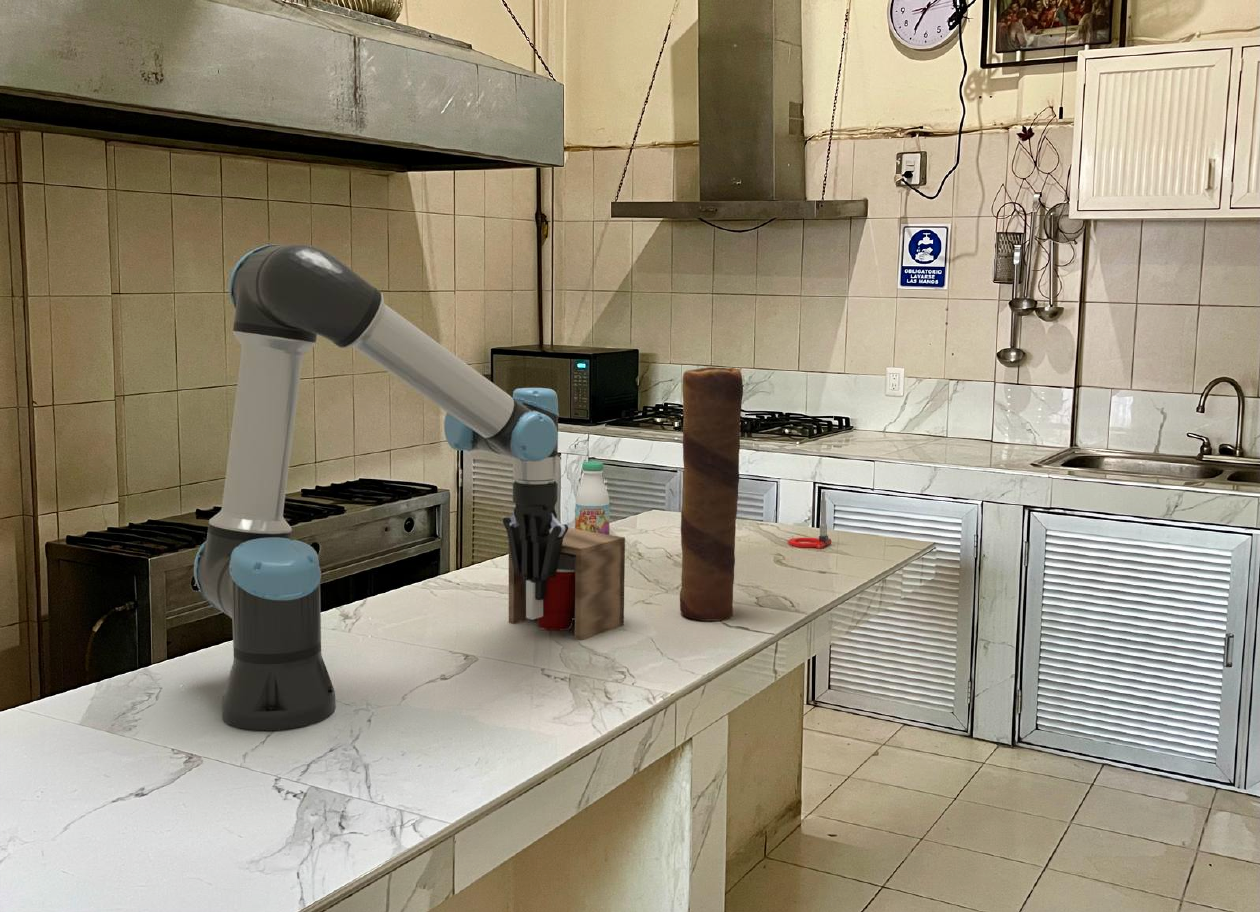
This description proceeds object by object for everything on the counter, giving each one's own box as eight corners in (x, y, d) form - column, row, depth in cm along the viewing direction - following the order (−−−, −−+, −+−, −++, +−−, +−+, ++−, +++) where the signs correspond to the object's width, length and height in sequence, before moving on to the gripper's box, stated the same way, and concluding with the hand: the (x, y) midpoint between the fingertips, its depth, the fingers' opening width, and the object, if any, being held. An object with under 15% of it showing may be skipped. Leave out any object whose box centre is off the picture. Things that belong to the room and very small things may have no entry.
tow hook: (782, 547, 280) (820, 550, 276) (782, 492, 279) (820, 494, 274) (796, 541, 287) (833, 544, 283) (795, 487, 286) (833, 489, 281)
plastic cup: (560, 638, 203) (562, 568, 202) (512, 626, 210) (513, 558, 208) (599, 626, 212) (601, 559, 211) (551, 615, 218) (553, 550, 217)
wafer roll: (729, 625, 213) (736, 370, 207) (671, 619, 217) (676, 368, 210) (743, 611, 223) (750, 367, 217) (688, 605, 226) (693, 365, 220)
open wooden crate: (580, 640, 203) (581, 548, 201) (508, 622, 213) (508, 535, 211) (623, 624, 213) (625, 537, 210) (553, 608, 223) (553, 525, 220)
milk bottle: (571, 547, 274) (571, 460, 272) (603, 545, 277) (604, 459, 274) (579, 554, 267) (580, 465, 264) (613, 553, 269) (614, 464, 267)
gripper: (579, 481, 202) (578, 619, 205) (521, 473, 209) (521, 606, 213) (549, 487, 196) (548, 628, 199) (491, 478, 203) (491, 615, 207)
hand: (534, 617), depth 206 cm, fingers closed
